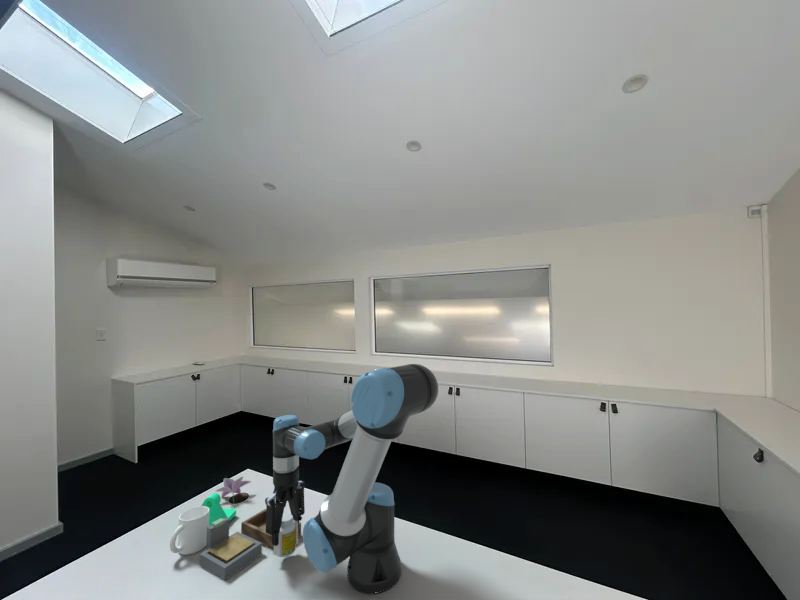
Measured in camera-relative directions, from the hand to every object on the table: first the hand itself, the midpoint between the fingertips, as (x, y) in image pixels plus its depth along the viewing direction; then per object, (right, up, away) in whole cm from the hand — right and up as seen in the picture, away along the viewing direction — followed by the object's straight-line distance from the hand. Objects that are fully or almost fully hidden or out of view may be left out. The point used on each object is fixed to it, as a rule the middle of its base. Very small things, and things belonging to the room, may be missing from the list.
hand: (286, 548), depth 98 cm
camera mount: (-32, -6, +20) cm, 38 cm away
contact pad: (-17, -1, 0) cm, 17 cm away
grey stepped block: (-17, -3, 0) cm, 18 cm away
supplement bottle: (0, -1, 0) cm, 1 cm away
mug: (-32, -4, +4) cm, 33 cm away
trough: (-9, -4, +11) cm, 15 cm away
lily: (-34, -7, +35) cm, 50 cm away
